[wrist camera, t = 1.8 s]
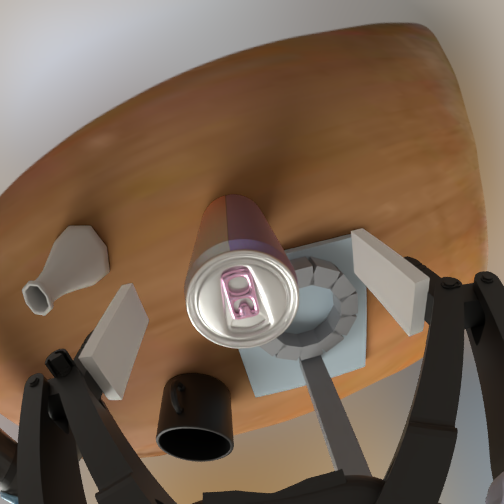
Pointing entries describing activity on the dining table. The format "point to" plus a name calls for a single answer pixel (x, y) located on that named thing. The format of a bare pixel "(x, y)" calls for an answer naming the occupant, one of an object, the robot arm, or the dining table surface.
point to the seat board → (310, 318)
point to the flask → (68, 268)
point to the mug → (195, 418)
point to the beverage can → (239, 277)
